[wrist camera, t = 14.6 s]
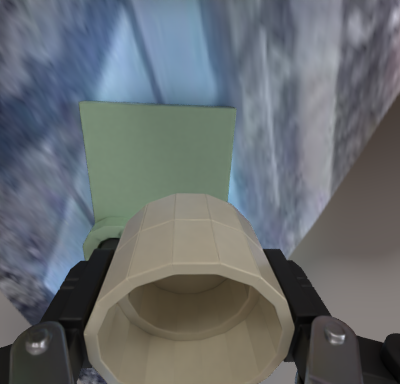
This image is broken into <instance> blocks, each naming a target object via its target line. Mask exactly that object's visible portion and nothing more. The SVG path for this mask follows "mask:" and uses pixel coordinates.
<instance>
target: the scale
mask: <svg viewBox="0 0 400 384" xmlns="http://www.w3.org/2000/svg"><path fill="white" fill-rule="evenodd" d="M79 109H80V117H81V124H82V131H83V138H84V146H85V153H86V160H87V168H88V175H89V182H90V189H91V197H92V204H93V211H94V218H95V225H94V226H93V228H92V229H91V231H90V233H89V234H88V236H87V238H86V240H85V242H84V243H83V252H84V258H85V260H86V261H88V260H89V258H90V256H91V254H92V252H93V250H94V249H101V247H102V245H103V243H104V242H105V241H107V240H109V239H113V238H117V239H120V237H121V235H122V232H123V230H124V228H125V225H126V223H127V222H128V220H130V219H131V218H132V217H133V216H134V215H135V214H136V213H137V212H138V211H139V210H141V209H142V208H143V207H144V206H145V205H146V204H148V203H150V202H153V201H155V200H158V199H161V198H164V197H167V196H169V195H172V194H176V193H195V194H208V195H210V196H213V197H215V198H218V199H220V200H223V201H225V202H227V201H228V191H229V180H230V170H231V160H232V150H233V140H234V129H235V119H236V108H234V107H227V106H203V105H179V104H155V103H131V102H107V101H81V102H79Z"/></svg>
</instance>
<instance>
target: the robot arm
mask: <svg viewBox="0 0 400 384" xmlns="http://www.w3.org/2000/svg"><path fill="white" fill-rule="evenodd" d="M263 251H264V253H265V255H266V258H267V260H268V262H269V264H270V266H271V268H272V270H273V272H274V274H275V277H276V279H277V281H278V283H279V285H280V287H281V289H282V291H283V294H284V296H285V298H286V300H287V303H288V306H289V309H290V313H291V316H292V319H293V323H294V326H295V330H294V334H293V337H292V341H291V344H290V348H289V351H288V355H287V357H286V358H285V359H284V360H283V361H284V362H295V364H296V367H297V373H296V377H295V384H400V334H398V333H395V334H390V335H388V336H387V337H386V340H385V341H384V343H382V342H378V341H375V340H371V339H367V338H363V337H360V336H357V335H356V334H355V333H354V331H353V330H352V329H351V328H350V327H349V326H348V325H347V324H346V323H344V322H342V321H341V320H339V319H337V318H334V317H332V316H331V314H330V313H329V311H328V309H327V308H326V306H325V305H324V303H323V302H322V300H321V298H320V297H319V295H318V294H317V292H316V290H315V289H314V287H312V284H311V282H310V281H309V280H308V279H307V276H306V275H305V273H304V271H303V270H302V269H301V267H299V266H298V265H297V264H296V263H295V262H293V261H292V260H286V258H285V256H284V255H283V253H282V251H281V250H280V249H263ZM113 255H114V249H94V250H93V252H92V254H91V256H90V258H89V260H88V261H80V262H79V263H77V264H76V265H75V266H74V267H73V268H71V269H70V271H69V273H68V275H67V276H66V278H65V281H63V283H62V285H61V287H60V290H58V292H57V293H56V295H55V297H54V299H53V300H52V302H51V304H50V305H49V307H48V309H47V311H46V312H45V314H44V316H43V317H42V319H41V321H40V323H38V324H36V325H33V326H32V327H30V328H28V329H27V330H25V331H24V332H23V333H22V334H20V335H19V336H18V338H17V339H16V340H15V341H14V343H13V344H11V345H8V346H5V347H1V348H0V384H77V380H78V377H79V374H80V371H81V368H92V365H91V364H90V362H89V360H88V355H87V350H86V345H85V340H84V330H85V327H86V325H87V322H88V319H89V317H90V314H91V312H92V309H93V307H94V304H95V301H96V299H97V296H98V294H99V291H100V288H101V286H102V283H103V281H104V278H105V276H106V273H107V270H108V268H109V265H110V263H111V260H112V258H113Z"/></svg>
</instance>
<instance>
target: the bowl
mask: <svg viewBox="0 0 400 384" xmlns="http://www.w3.org/2000/svg"><path fill="white" fill-rule="evenodd" d="M294 330H295V326H294V323H293V319H292V316H291V313H290V309H289V306H288V303H287V300H286V298H285V296H284V294H283V291H282V289H281V287H280V285H279V283H278V281H277V279H276V277H275V274H274V272H273V270H272V268H271V266H270V264H269V262H268V260H267V258H266V255H265V253H264V251H263V249H262V247H261V245H260V243H259V241H258V239H257V236H256V234H255V232H254V230H253V228H252V226H251V224H250V222H249V221H248V220H247V219H246V218H245V217H244V216H243V215H242V214H241V213H240V212H239V211H238V210H237V209H236V208H235V207H234V206H233V205H232V204H230V203H228V202H225V201H223V200H220V199H218V198H215V197H213V196H210V195H208V194H195V193H176V194H172V195H169V196H167V197H164V198H161V199H158V200H155V201H153V202H150V203H148V204H146V205H145V206H144V207H143V208H142V209H141V210H139V211H138V212H137V213H136V214H135V215H134V216H133V217H132V218H131V219H130V220H128V222H127V223H126V225H125V228H124V230H123V232H122V235H121V237H120V240H119V242H118V245H117V247H116V250H115V252H114V255H113V258H112V260H111V263H110V265H109V268H108V270H107V273H106V276H105V278H104V281H103V283H102V286H101V288H100V291H99V294H98V296H97V299H96V301H95V304H94V307H93V309H92V312H91V314H90V317H89V319H88V322H87V325H86V327H85V330H84V340H85V345H86V350H87V355H88V360H89V362H90V364H91V365H92V366H93V367H94V369H95V370H96V371H97V372H98V373H99V374H100V375H101V377H102V378H103V379H104V380H105V381H106V382H107V383H108V384H258V383H260V382H261V381H263V380H265V379H267V378H268V377H269V376H270V375H271V374H272V373H273V371H274V370H275V369H276V368H277V367H278V366H279V364H280V363H281V362H282V361H283V360H284V359H285V358H286V357H287V355H288V351H289V348H290V344H291V341H292V337H293V334H294Z"/></svg>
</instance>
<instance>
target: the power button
mask: <svg viewBox="0 0 400 384" xmlns="http://www.w3.org/2000/svg"><path fill="white" fill-rule="evenodd" d="M119 240H120V239H117V238H113V239H109V240H107V241H105V242H104V243H103V245H102V247H101V249H114V252H115V250H116V247H117V245H118V242H119Z"/></svg>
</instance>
